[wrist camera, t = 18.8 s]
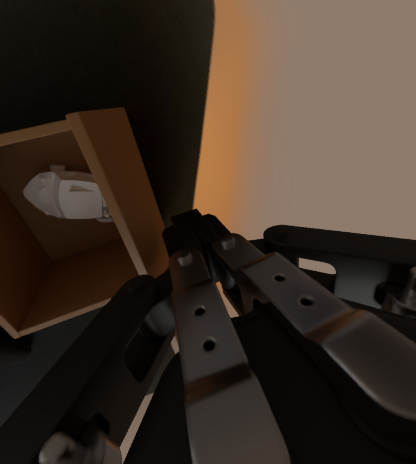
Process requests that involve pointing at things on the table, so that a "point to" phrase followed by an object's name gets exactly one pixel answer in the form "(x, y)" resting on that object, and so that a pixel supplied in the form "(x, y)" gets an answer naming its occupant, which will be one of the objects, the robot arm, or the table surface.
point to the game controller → (13, 353)
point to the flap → (123, 186)
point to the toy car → (67, 195)
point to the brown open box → (51, 239)
